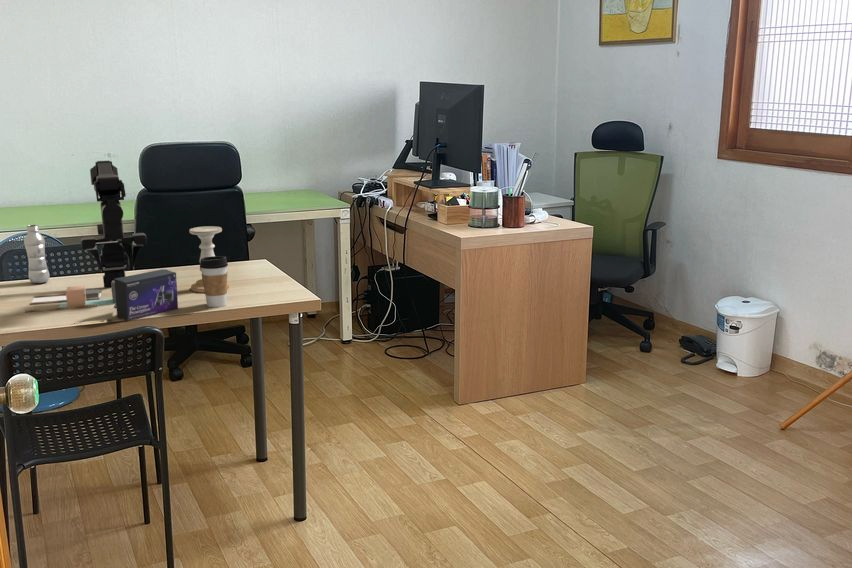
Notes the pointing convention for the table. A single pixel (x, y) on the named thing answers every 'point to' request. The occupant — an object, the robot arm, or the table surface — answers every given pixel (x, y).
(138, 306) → the box
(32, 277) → the plastic bottle
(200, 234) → the candle holder
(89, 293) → the strip
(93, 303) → the strip
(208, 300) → the coffee cup
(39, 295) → the lane rails
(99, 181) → the robot arm
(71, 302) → the cube
